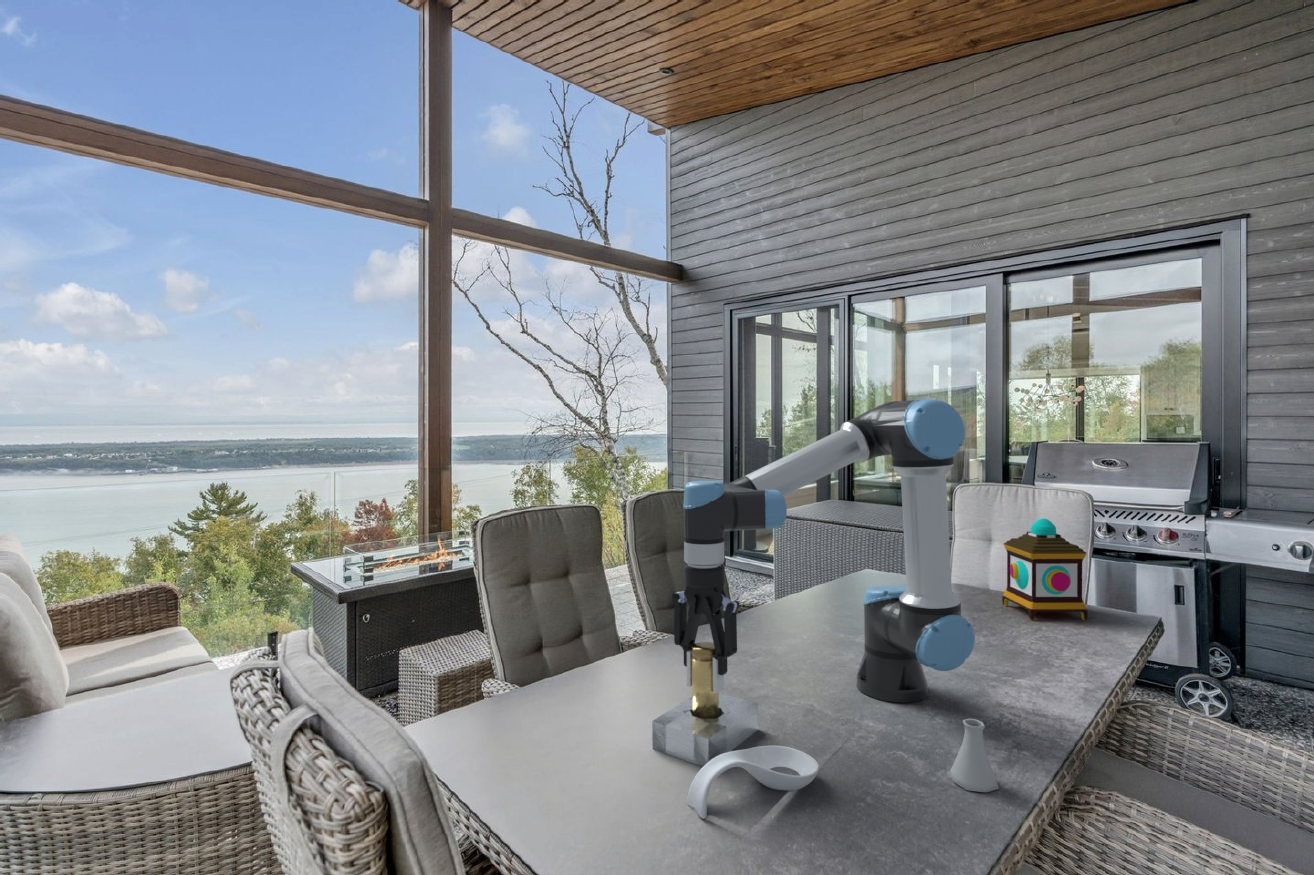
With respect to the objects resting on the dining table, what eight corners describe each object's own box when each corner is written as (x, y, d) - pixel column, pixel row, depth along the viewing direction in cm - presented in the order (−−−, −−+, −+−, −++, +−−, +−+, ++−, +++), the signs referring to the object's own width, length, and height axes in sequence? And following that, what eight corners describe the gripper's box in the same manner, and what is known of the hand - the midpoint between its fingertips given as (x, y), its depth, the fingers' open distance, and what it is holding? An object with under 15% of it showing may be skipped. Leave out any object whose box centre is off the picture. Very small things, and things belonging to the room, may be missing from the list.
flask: (941, 771, 113) (941, 714, 113) (982, 769, 114) (982, 712, 113) (964, 795, 106) (964, 733, 106) (1007, 793, 106) (1007, 731, 106)
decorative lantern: (1095, 622, 198) (1096, 522, 197) (1029, 622, 198) (1029, 523, 197) (1056, 604, 218) (1056, 513, 217) (995, 604, 218) (995, 514, 217)
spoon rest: (785, 758, 118) (785, 718, 118) (834, 789, 108) (834, 746, 108) (674, 797, 106) (674, 753, 106) (718, 836, 96) (717, 787, 96)
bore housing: (758, 734, 127) (758, 703, 127) (708, 774, 113) (708, 739, 112) (705, 718, 134) (705, 688, 134) (652, 753, 120) (652, 720, 120)
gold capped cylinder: (723, 713, 124) (723, 645, 124) (709, 723, 120) (709, 652, 120) (701, 707, 127) (701, 640, 127) (687, 716, 123) (686, 647, 123)
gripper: (757, 566, 121) (757, 691, 121) (676, 555, 131) (677, 670, 132) (736, 573, 115) (737, 706, 115) (653, 561, 125) (654, 682, 126)
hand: (705, 687), depth 123 cm, fingers closed on gold capped cylinder, 5 cm apart
